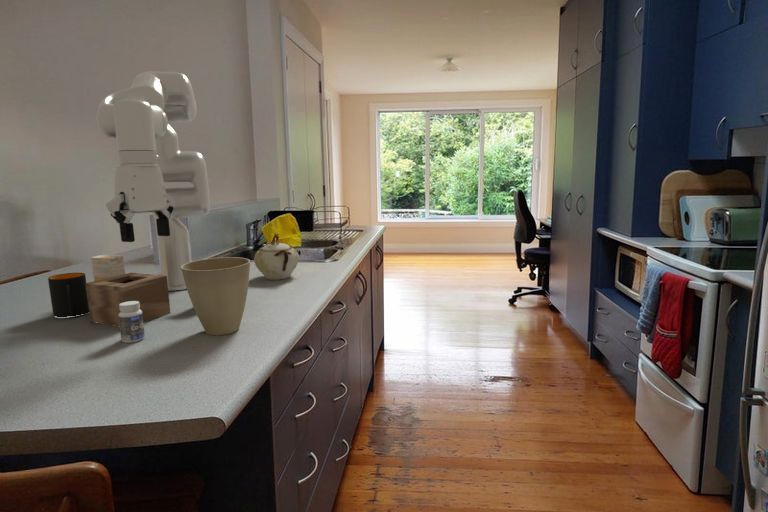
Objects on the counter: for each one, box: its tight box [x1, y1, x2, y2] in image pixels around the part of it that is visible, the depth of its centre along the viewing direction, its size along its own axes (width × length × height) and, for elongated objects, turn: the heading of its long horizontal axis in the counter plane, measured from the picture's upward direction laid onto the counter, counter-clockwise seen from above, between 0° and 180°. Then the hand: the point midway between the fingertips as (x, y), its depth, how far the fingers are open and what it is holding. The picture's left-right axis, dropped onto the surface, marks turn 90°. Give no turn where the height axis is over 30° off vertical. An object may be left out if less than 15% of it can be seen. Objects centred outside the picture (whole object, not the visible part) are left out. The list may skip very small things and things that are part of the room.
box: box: [85, 272, 171, 327], centre depth 127 cm, size 13×13×10 cm
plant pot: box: [181, 256, 251, 336], centre depth 114 cm, size 15×15×16 cm
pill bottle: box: [118, 301, 146, 344], centre depth 110 cm, size 5×5×8 cm
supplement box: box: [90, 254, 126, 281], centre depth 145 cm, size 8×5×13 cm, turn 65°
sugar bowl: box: [253, 233, 300, 281], centre depth 170 cm, size 20×15×15 cm
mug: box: [47, 272, 89, 317], centre depth 130 cm, size 8×12×10 cm
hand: (146, 238), depth 110 cm, fingers open, 9 cm apart
